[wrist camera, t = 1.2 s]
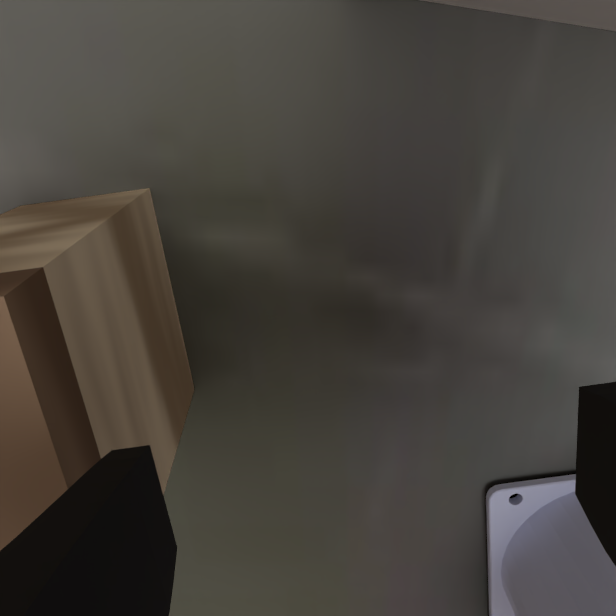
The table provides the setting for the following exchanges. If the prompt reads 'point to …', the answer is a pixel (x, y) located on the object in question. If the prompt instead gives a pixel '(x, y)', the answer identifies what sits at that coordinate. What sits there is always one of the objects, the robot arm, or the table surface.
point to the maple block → (84, 347)
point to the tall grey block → (549, 10)
